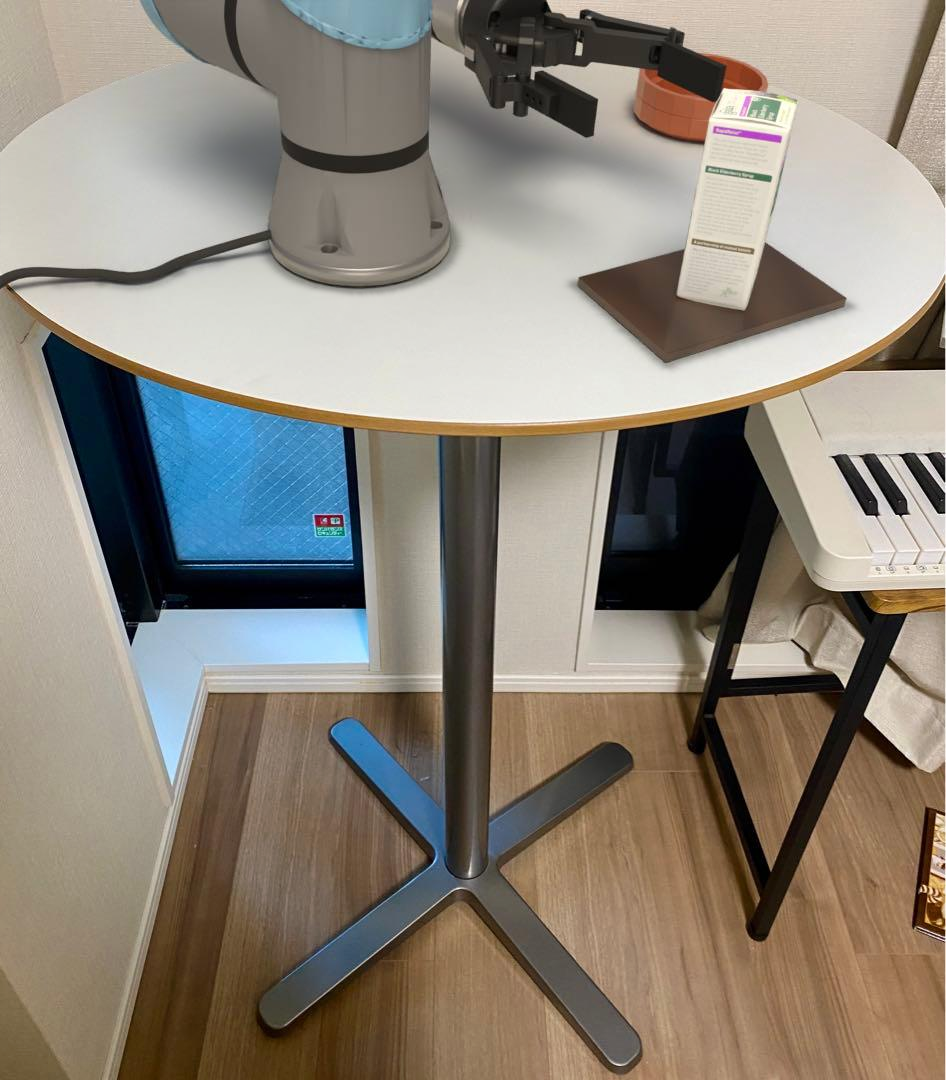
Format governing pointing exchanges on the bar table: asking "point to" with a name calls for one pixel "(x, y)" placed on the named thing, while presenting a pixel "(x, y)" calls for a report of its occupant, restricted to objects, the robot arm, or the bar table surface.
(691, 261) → the syrup box
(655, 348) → the mat
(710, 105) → the bowl
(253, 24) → the robot arm
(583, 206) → the bar table surface
